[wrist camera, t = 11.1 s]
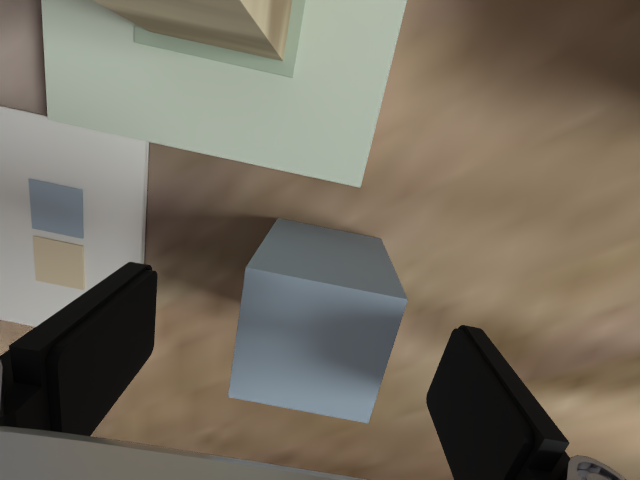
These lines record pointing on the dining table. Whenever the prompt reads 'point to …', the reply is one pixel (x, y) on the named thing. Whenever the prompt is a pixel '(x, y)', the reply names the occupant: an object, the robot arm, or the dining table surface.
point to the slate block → (316, 321)
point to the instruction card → (65, 211)
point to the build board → (229, 85)
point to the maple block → (214, 22)
